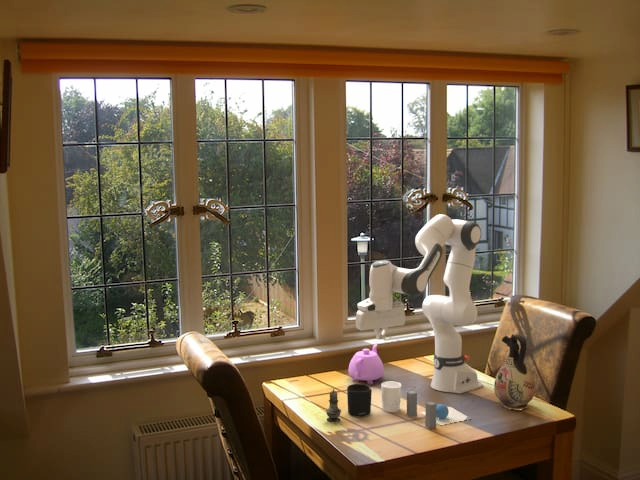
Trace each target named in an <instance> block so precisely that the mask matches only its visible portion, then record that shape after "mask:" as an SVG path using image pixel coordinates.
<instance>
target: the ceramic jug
mask: <svg viewBox="0 0 640 480" xmlns="http://www.w3.org/2000/svg"><path fill="white" fill-rule="evenodd" d="M501 342H502V343H504V344H505V345H507V347H509V354H508V355H507V357H506V359H505V360H504V361H503V363H502V364H501V366H500V367H499V368H498V371H497V373H496V375H495V379H494V385H493V386H494V389H493V390H494V393H495V396H496V398H497V399H498V400H499V401H500V403H501V405H502V407H503V406H505V407H507V408H511V409H524V408H526V407H527V408H528V404H529V403H530V402H531V401H532V400H533V399H534V396H535V391H536V387H535V382H534V378H533V375H532V372H531V371H530V369H529V368H528V366H527V364H526V363H525V362H524V361H525V358H526V354H527V341H526V338H525V336H522V335H521V334H511V336H510V337H509V336H507V335H505V336H503V337H502V339H501ZM518 342H519V343H518ZM505 407H504V408H505ZM507 408H506V409H507ZM527 408H526V409H527ZM511 409H510V410H511ZM524 410H525V409H524Z"/></svg>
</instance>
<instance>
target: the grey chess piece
mask: <svg viewBox="0 0 640 480" xmlns="http://www.w3.org/2000/svg"><path fill="white" fill-rule="evenodd" d="M328 402H329V407H328V408H326V409H325V412H326V415H327V418H326V421H327V422H328V423H339V422H341V418H340V416H341V412H342V409H340V408H339V404H338V402H339V400H338V392H337V391H336V390H335V389H332V391H330V392H329V400H328Z"/></svg>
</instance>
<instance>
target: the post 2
mask: <svg viewBox="0 0 640 480" xmlns="http://www.w3.org/2000/svg"><path fill="white" fill-rule="evenodd" d="M436 406H437V403H435V402H434V401H428V402H425V411H426V412H425V416H424V417H425V424H424V427H426V428H427V429H429V430H431V429H435V428H437V423H436Z"/></svg>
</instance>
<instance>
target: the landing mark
mask: <svg viewBox="0 0 640 480" xmlns="http://www.w3.org/2000/svg"><path fill="white" fill-rule="evenodd" d="M447 408H448V410H449V413H448V416H447V417H446V418H444V419H438V418H437V417H436V425H437V424H438V425H439V426H440V425H442V426H446V425H445V424H447V425H451V424H450V423H451V422H452V421H453V423H452V424H455V423H454V422H456V421H457V423H460V422H459V421H462V422H465V421H464V420H465V419H466V418H467V417H468V416H467V415H466V414H464V413H462V412H460V411H459V410H456V409H455V408H453V407H452V406H447ZM425 412H426V410H424V411H419V413H420V414H421V415H422V416H424V417H425ZM450 420H451V421H450Z"/></svg>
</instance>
